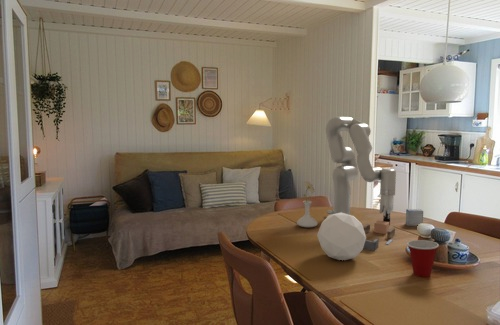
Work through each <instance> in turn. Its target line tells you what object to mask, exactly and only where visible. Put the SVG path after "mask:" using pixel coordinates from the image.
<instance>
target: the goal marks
mask: <svg viewBox="0 0 500 325" xmlns="http://www.w3.org/2000/svg"><path fill="white" fill-rule="evenodd" d="M393 240H394V239H392V238H391V239H388V241H387V242H386V243H385V245H387V246H388V245H389V244H391V243H392V242H393Z"/></svg>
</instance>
